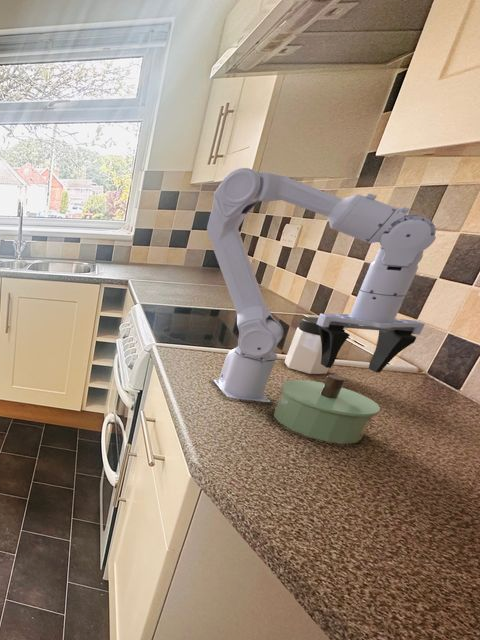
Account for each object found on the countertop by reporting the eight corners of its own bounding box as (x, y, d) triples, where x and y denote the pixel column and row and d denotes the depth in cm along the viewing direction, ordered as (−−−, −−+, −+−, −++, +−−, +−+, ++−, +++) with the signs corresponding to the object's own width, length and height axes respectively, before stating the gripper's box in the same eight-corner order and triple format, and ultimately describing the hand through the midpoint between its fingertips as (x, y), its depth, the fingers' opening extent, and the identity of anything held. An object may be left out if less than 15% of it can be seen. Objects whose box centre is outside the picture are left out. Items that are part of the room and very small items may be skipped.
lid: (266, 381, 81) (275, 359, 79) (346, 390, 78) (356, 367, 76) (302, 413, 68) (313, 388, 67) (398, 425, 66) (412, 399, 64)
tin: (261, 407, 82) (271, 379, 80) (333, 415, 80) (346, 387, 78) (292, 439, 71) (305, 409, 69) (377, 450, 69) (393, 419, 66)
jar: (307, 362, 108) (325, 316, 103) (335, 374, 100) (356, 326, 95) (275, 362, 107) (292, 316, 102) (301, 374, 99) (321, 326, 94)
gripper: (346, 294, 67) (315, 371, 73) (453, 301, 65) (413, 381, 70) (322, 286, 74) (296, 358, 79) (419, 292, 71) (385, 366, 76)
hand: (349, 368), depth 75 cm, fingers open, 7 cm apart
